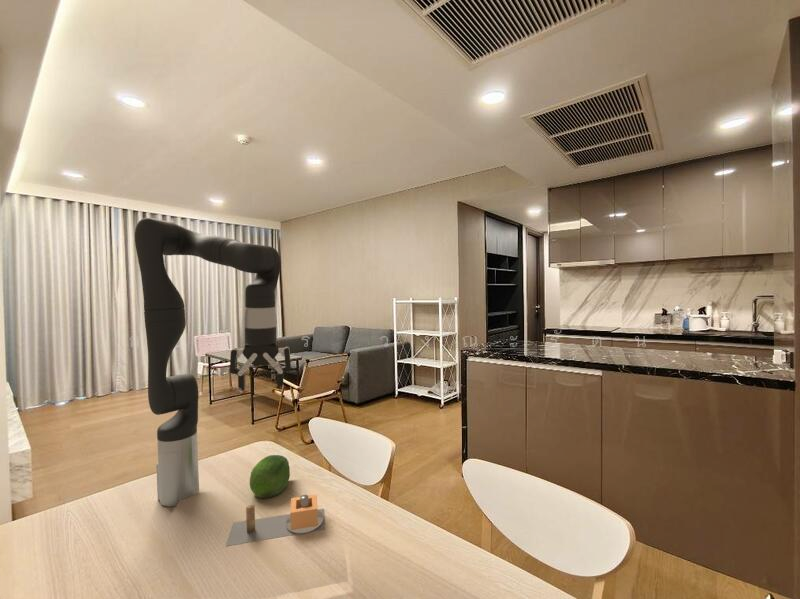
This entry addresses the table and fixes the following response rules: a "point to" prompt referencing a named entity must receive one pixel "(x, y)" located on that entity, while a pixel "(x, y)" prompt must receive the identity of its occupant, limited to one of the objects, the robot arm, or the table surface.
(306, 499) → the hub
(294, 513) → the collar
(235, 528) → the board
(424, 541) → the table surface
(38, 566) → the table surface
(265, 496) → the fruit
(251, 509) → the stand rod
